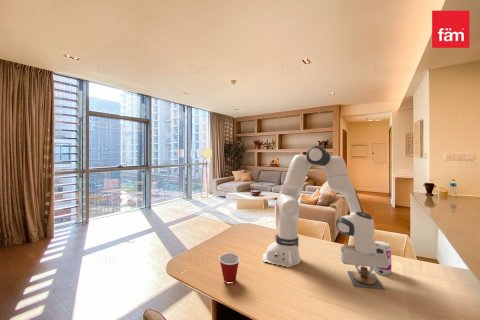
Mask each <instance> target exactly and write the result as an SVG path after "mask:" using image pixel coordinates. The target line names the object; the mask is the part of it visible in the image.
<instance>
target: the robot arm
mask: <svg viewBox="0 0 480 320" xmlns="http://www.w3.org/2000/svg"><path fill="white" fill-rule="evenodd" d="M311 167H313V168H315V167H318V168H319V167H320V168H321V167H322V168H323V169H324V171H325V174H326V180H327V184H328V186H329V187H328V188H329V189H330V190H331V191H333V192H335V193H337V194H340V195H342V196H343V197H344V198H345V200H346V203H347V205H348V209H349V212H350V213H349V214H346V215H341V216H339V217H338V218H337V219H336V220H335V227H336V229H337V231H338V232H339V233H340V235H341V234H342V235H344V236H348V237H350V236H351V237H353V245H352V244H344V245H341V247H340V252H341V256H340V258H341V259H340V260H341V263H342V264H343V265H349V266H350V265H351V266H354V267H355V269H356V271H357V273H358V274H361V268H360V267H361V266H364V267H366V268H369V269H368V275H371V273H373V271H374V267H377V268H388V266H389V263H388V257H387V255H386V250H385V249H384V247H383V246H381V245H380V244H377V243H374V241H375V238H374V236H375V222H374V218H373V216H372V215H371V214H369V213H367V212H364V210H363V208H362V205H361V201H360V199H359V195H358V193H357V190H356V188H355V187H354V185H353V184H352V181H351V178H350V175H349V171H348V170H349V169H348V168H347V164H346V162H345V159H344V158H343V157H341V156H339V155H330V153H329V152H328V151H327V150H326V149H325V148H324V147H323V146H320V145H313V146H311V147H309V148H308V149H307V151H306V153H305V154H296V155H294V156H293V158H292V159H291V161H290V164H289V166H288V168H287V169H288V170H287V173H286V175H285V179H284V182H283V184H282V187H281V189H280V190H279V193H278V195H277V198H276V205H277V206H278V210H279V211H278V212H279V213H278V215H279V216H278V223H277V224H278V225H277V226H278V233H275V235H274V237H275V239H274V240H275V241H273V242H272V243H270V244H269V245H268V246H267V248H266V251H265V252H264V253H263V255H262V262H263V261H264V262H268V263H273V264H278V265H282V266H281V267H284V266H286V267H285V268H292V266H296V265H299V264H300V263H301V261H302V259H301V256H300V252H299V251H300V250H299V245H300V239H299V235H298V232H299V231H298V220H299V213H300V207H301V206H300V203H299V201H298V197H299V194H300V193H301V191H302V190H303V187H304V185H305V181H306V179H307V175H308V171H309V169H310V168H311ZM264 262H263V263H264ZM268 263H267V264H268ZM273 264H272V265H273ZM278 265H277V266H278Z"/></svg>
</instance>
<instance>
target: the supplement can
mask: <svg viewBox="0 0 480 320" xmlns="http://www.w3.org/2000/svg"><path fill="white" fill-rule="evenodd" d="M374 243H377V244H380V245H381V246H383V247H384V249H385V250H386V255H387V257H388V263H389V266H388V268H377V267H374V270H373V271H374V272H375V274H378V275H381V276H390V275H391V274H392V247H391V245H390V244H389V243H388V242H387V241H382V240H374ZM389 274H390V275H389Z"/></svg>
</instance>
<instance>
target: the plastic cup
mask: <svg viewBox="0 0 480 320" xmlns="http://www.w3.org/2000/svg"><path fill="white" fill-rule="evenodd" d="M218 259H219V264H220V267H221V268H220V269H221V273H222V277H223V282H224V281H226V282H234V281H235V282H236V281H237V273H238V268H239V267H238V266H239V263H240V261H241V257H240V256H239V255H238V254H236V253H232V252H231V253H230V252H226V253H222V254H221V255H219V257H218ZM235 282H234V283H235Z"/></svg>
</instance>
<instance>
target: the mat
mask: <svg viewBox="0 0 480 320" xmlns="http://www.w3.org/2000/svg"><path fill="white" fill-rule="evenodd" d="M346 272H347V274H348V276H349V279H350V282H351V283H352V286H353V287H355V288H357V287H358V288H366V289H374V290H382V291H385V290H386V287H384V285H383V283H382V282H381V280H380V279H379V278H378V276H377V275H376V272H375V273H374V272H371V275H373V276H374V277H375V278H376V283H375V284H363V283H360V282H358V281H356V280H355V279H354V278H353V273H354V272H355V271H353V270H352V271H351V270H347V271H346Z"/></svg>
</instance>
